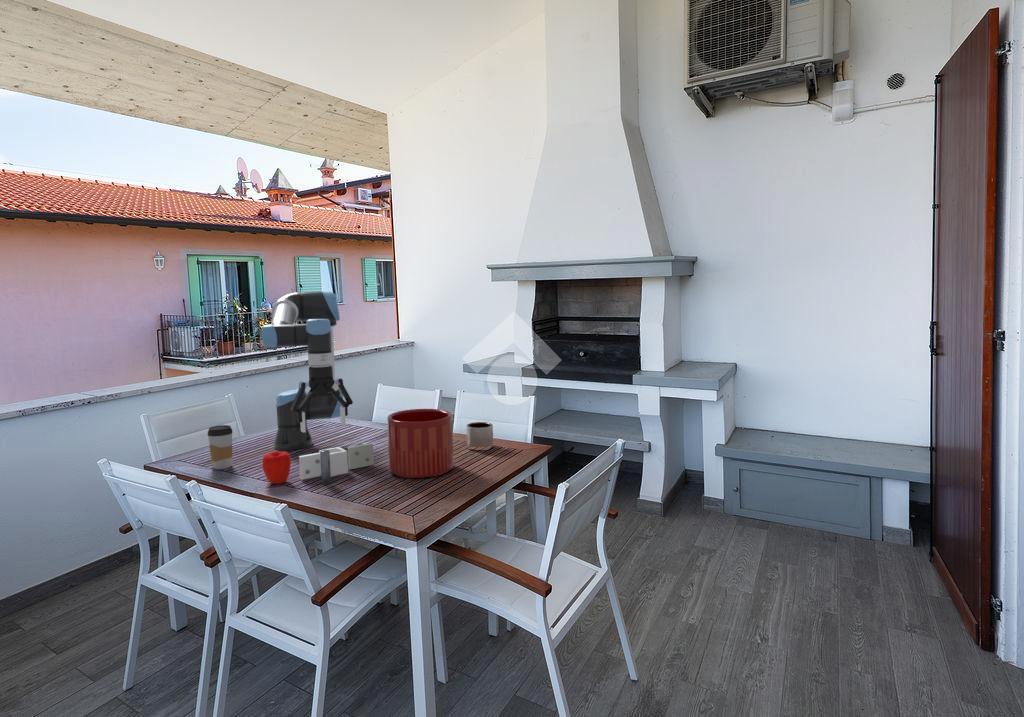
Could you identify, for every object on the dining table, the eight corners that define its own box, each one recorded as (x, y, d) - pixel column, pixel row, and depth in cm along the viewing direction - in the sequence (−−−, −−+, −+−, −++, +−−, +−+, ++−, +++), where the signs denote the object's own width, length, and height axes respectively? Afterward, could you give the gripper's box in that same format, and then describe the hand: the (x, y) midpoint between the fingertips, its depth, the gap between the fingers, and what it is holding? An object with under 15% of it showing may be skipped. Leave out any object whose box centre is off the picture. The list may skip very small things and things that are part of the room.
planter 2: (495, 450, 233) (495, 427, 232) (469, 452, 230) (468, 428, 229) (490, 443, 243) (489, 421, 242) (464, 445, 240) (464, 422, 239)
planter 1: (399, 484, 193) (397, 425, 190) (381, 466, 213) (379, 412, 211) (463, 473, 203) (462, 417, 201) (440, 457, 223) (439, 406, 221)
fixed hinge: (297, 476, 202) (296, 454, 201) (340, 468, 211) (339, 446, 210) (304, 482, 196) (303, 459, 195) (348, 473, 205) (347, 451, 204)
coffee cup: (240, 464, 216) (237, 425, 215) (222, 471, 208) (219, 430, 207) (222, 462, 219) (220, 424, 217) (204, 469, 211) (201, 429, 209)
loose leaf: (348, 468, 210) (347, 446, 209) (372, 463, 215) (371, 442, 214) (350, 469, 208) (349, 447, 207) (374, 465, 213) (373, 443, 212)
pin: (320, 482, 195) (318, 450, 194) (329, 480, 197) (327, 449, 196) (323, 484, 193) (321, 452, 192) (332, 482, 195) (330, 451, 193)
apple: (263, 488, 189) (261, 456, 188) (263, 481, 197) (261, 450, 196) (292, 485, 193) (290, 453, 192) (291, 477, 201) (289, 447, 200)
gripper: (285, 370, 180) (288, 436, 182) (360, 363, 195) (363, 425, 197) (278, 367, 186) (282, 432, 188) (352, 361, 201) (354, 421, 203)
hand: (323, 428), depth 193 cm, fingers open, 13 cm apart
